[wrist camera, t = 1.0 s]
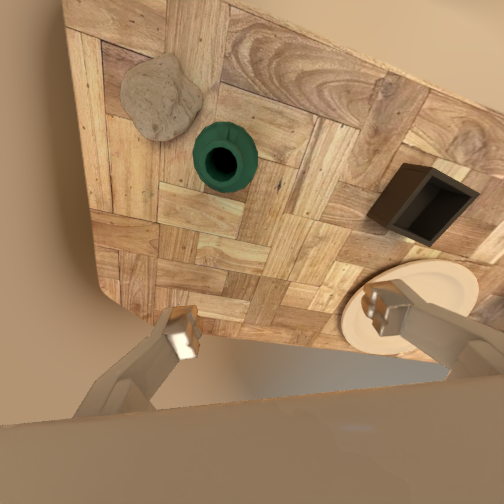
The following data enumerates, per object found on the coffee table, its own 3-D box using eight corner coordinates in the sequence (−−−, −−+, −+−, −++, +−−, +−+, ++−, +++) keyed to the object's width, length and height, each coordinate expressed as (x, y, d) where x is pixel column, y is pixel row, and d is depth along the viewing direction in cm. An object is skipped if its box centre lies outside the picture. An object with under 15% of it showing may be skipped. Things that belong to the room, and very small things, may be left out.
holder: (403, 162, 31) (433, 167, 26) (446, 185, 32) (480, 193, 28) (366, 215, 35) (385, 227, 30) (405, 232, 36) (430, 247, 32)
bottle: (219, 119, 27) (192, 101, 13) (259, 139, 28) (273, 140, 15) (206, 164, 30) (173, 187, 16) (244, 180, 31) (243, 214, 17)
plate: (457, 227, 36) (470, 233, 34) (474, 316, 48) (484, 324, 46) (317, 297, 44) (321, 305, 42) (362, 359, 55) (366, 367, 53)
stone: (210, 64, 23) (183, 154, 25) (212, 84, 27) (189, 159, 29) (116, 9, 20) (94, 114, 22) (134, 41, 25) (115, 126, 27)
